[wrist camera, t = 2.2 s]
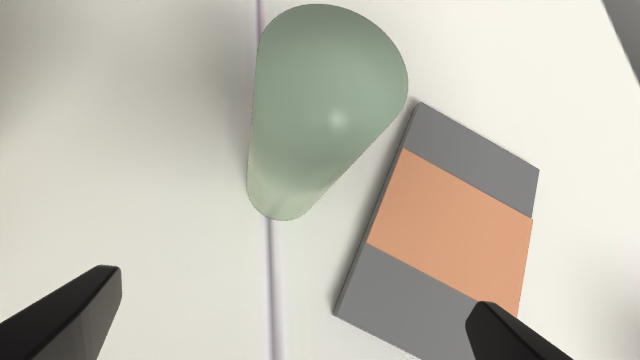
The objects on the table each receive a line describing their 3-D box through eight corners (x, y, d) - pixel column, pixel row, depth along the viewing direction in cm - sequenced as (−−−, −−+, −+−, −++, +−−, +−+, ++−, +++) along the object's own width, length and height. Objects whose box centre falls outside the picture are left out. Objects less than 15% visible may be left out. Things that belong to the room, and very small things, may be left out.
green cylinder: (326, 208, 22) (431, 119, 10) (258, 230, 21) (286, 154, 9) (304, 146, 23) (374, -1, 11) (237, 161, 22) (236, 9, 10)
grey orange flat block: (489, 393, 21) (503, 399, 20) (332, 314, 20) (337, 316, 19) (529, 173, 28) (541, 168, 27) (414, 107, 27) (421, 100, 26)
